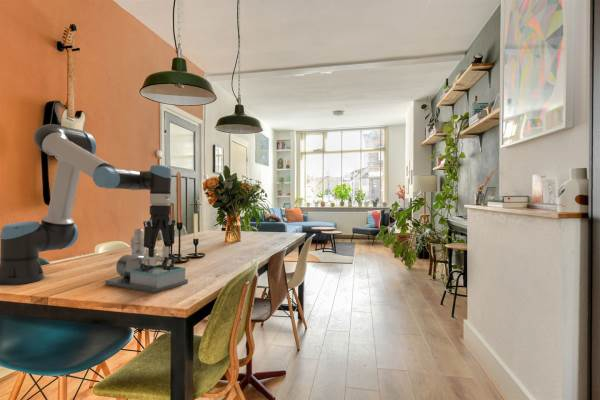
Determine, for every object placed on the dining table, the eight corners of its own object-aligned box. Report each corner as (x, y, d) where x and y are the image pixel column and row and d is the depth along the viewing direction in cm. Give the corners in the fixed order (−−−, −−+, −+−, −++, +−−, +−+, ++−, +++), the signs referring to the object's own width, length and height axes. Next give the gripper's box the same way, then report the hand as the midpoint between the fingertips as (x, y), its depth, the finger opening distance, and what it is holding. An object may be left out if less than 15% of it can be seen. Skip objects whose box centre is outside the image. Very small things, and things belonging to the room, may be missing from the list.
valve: (138, 264, 125) (162, 273, 121) (140, 248, 124) (165, 256, 120) (151, 260, 131) (175, 268, 127) (153, 245, 130) (177, 252, 126)
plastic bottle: (145, 274, 144) (146, 229, 144) (128, 275, 142) (129, 229, 142) (146, 271, 150) (147, 228, 150) (130, 271, 148) (131, 228, 148)
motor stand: (105, 284, 126) (106, 257, 126) (142, 275, 141) (143, 251, 141) (153, 293, 115) (154, 264, 115) (187, 282, 131) (188, 257, 131)
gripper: (147, 205, 116) (146, 269, 116) (184, 205, 133) (183, 261, 132) (132, 204, 119) (131, 267, 119) (171, 204, 136) (170, 259, 136)
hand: (159, 263), depth 126 cm, fingers closed on valve, 5 cm apart
